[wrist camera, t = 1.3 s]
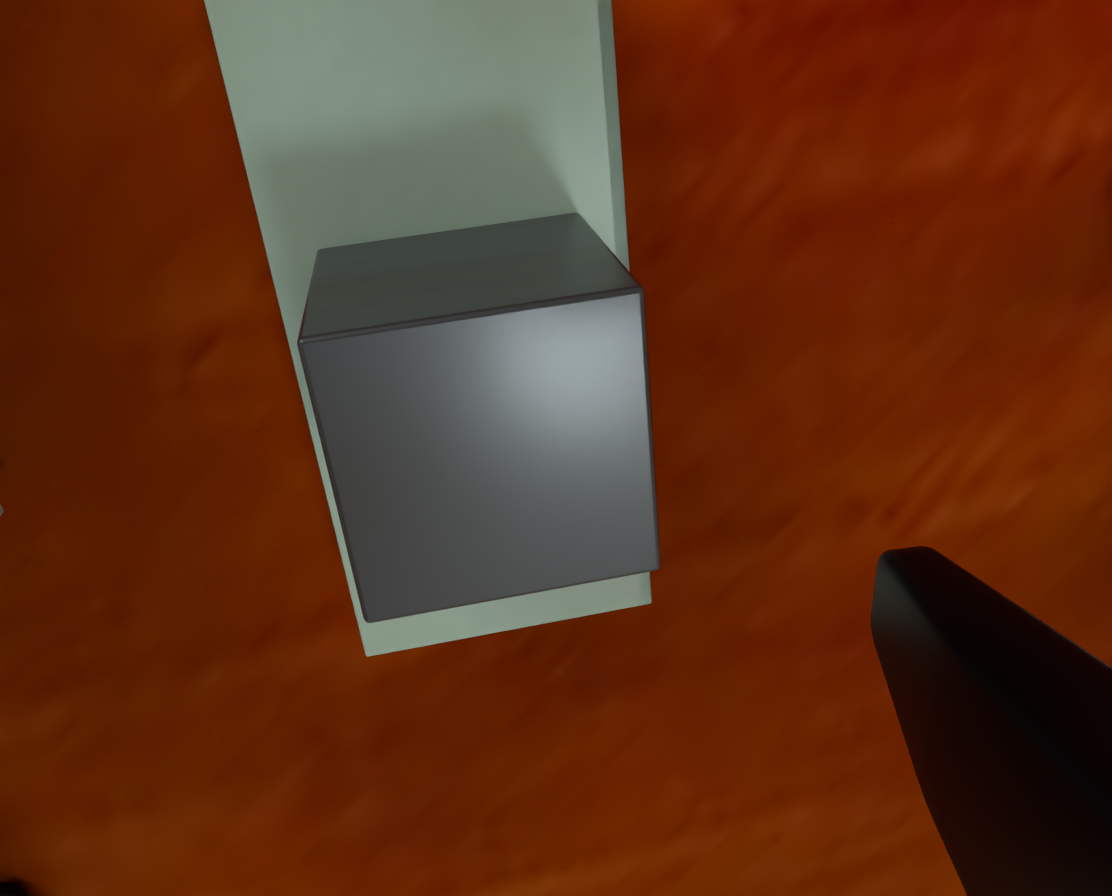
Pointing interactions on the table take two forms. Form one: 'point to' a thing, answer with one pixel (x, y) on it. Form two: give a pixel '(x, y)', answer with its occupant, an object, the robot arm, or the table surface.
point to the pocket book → (424, 172)
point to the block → (483, 412)
